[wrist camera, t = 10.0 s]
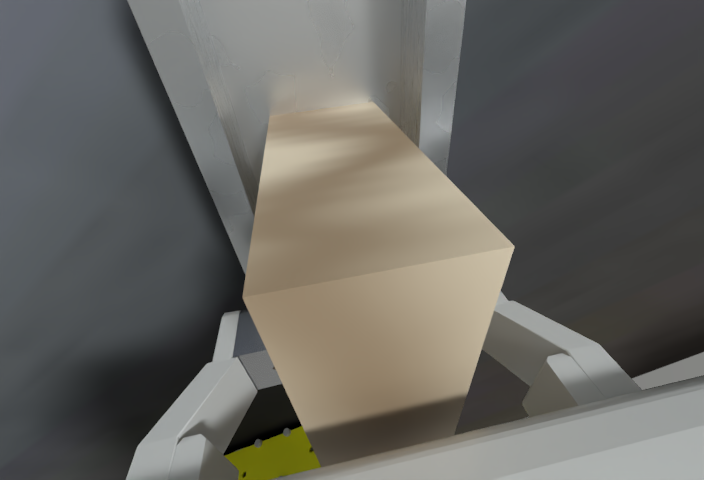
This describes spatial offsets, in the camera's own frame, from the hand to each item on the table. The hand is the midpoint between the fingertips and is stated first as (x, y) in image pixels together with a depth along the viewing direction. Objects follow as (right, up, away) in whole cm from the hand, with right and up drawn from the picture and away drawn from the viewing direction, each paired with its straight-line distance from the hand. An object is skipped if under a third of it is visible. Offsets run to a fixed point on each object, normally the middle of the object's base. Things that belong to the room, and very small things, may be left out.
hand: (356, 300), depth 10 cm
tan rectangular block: (-1, +2, +3) cm, 4 cm away
